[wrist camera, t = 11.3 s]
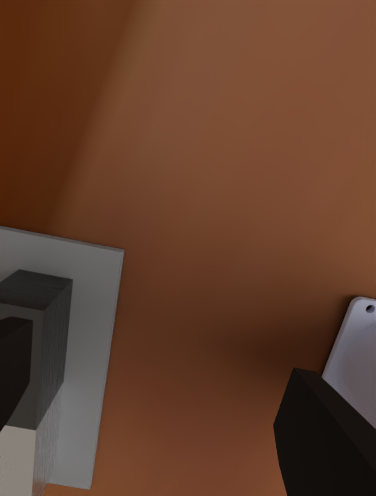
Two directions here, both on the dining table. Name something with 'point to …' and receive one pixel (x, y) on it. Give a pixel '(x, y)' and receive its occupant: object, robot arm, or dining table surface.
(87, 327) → the mat
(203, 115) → the dining table surface
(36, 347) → the two-tone grey bar
